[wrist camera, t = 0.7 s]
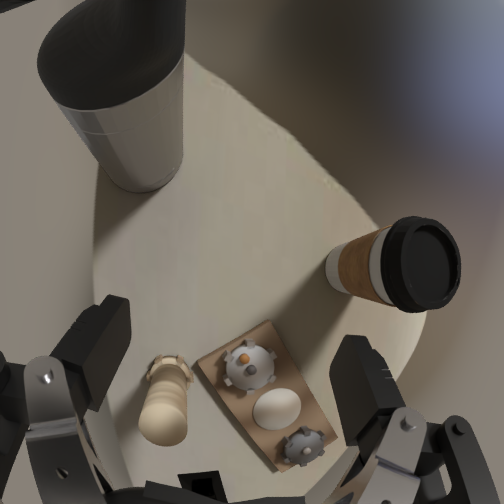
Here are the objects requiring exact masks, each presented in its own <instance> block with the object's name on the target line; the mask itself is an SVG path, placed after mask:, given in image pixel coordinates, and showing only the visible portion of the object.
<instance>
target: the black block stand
mask: <svg viewBox="0 0 504 504" xmlns="http://www.w3.org/2000/svg"><path fill="white" fill-rule="evenodd" d="M178 478H179V481H180V483H181V486H182V488H183V489H187V490H189V491H192V492H194V493H197V494H200V495H202V496H205V497H208V498H211V499H214V500H217V501H220V502H223V503H228V502H227V498H226V495H225V492H224V488H223V485H222V481H221V478H220V474H219V471H209V472H200V473H189V474H178Z"/></svg>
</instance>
